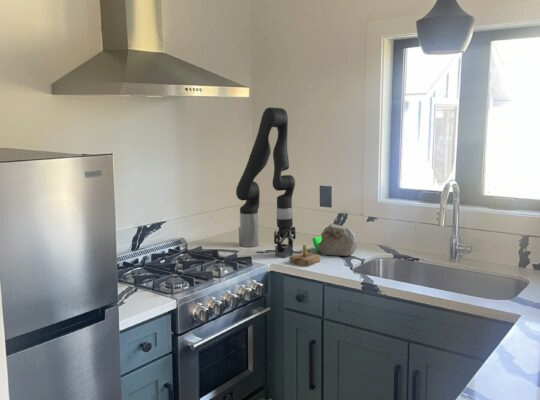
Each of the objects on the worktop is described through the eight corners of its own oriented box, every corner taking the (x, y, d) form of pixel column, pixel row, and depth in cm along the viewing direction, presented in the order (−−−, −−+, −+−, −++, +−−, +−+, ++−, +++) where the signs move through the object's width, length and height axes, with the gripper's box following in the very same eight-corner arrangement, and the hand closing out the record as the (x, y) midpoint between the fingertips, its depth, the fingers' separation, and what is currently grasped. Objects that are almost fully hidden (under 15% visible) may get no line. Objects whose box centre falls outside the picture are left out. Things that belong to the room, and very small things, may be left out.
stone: (358, 254, 263) (358, 224, 261) (355, 258, 256) (355, 227, 254) (320, 251, 270) (320, 221, 267) (316, 255, 263) (316, 224, 261)
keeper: (289, 263, 249) (289, 245, 248) (302, 258, 257) (302, 241, 256) (307, 266, 243) (307, 249, 242) (320, 261, 251) (320, 244, 250)
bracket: (342, 252, 284) (338, 239, 286) (352, 246, 276) (348, 232, 278) (309, 256, 275) (305, 243, 277) (318, 250, 267) (314, 236, 269)
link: (275, 255, 262) (275, 245, 261) (282, 253, 267) (282, 243, 266) (285, 257, 258) (285, 247, 258) (292, 255, 263) (292, 245, 262)
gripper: (286, 214, 268) (287, 246, 270) (269, 218, 256) (270, 252, 259) (299, 215, 263) (300, 248, 265) (282, 220, 252) (282, 254, 254)
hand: (285, 250), depth 262 cm, fingers open, 8 cm apart
